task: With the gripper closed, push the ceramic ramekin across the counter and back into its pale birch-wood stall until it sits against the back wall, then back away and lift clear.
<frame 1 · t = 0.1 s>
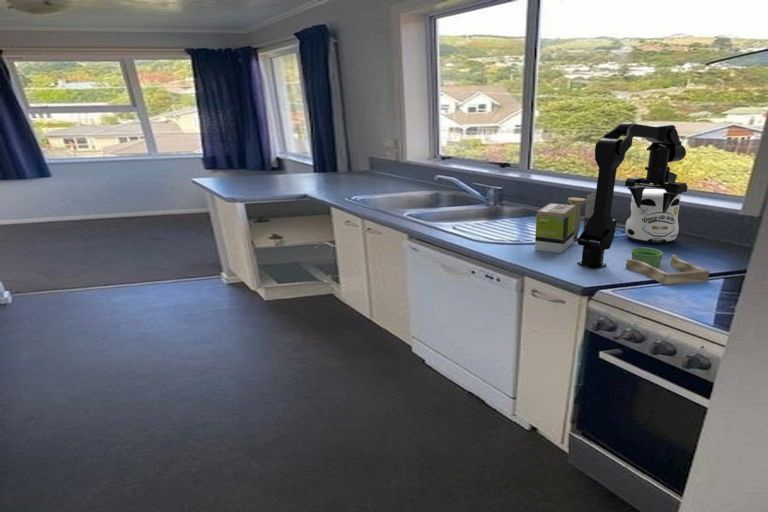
hand: (651, 209, 162), 14 cm above the countertop, fingers open, 9 cm apart
ramekin: (645, 264, 154), on the countertop
milk container: (649, 240, 179), on the countertop
stall: (669, 275, 143), on the countertop
tea box: (554, 247, 175), on the countertop
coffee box: (594, 234, 189), on the countertop
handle: (573, 237, 186), on the countertop
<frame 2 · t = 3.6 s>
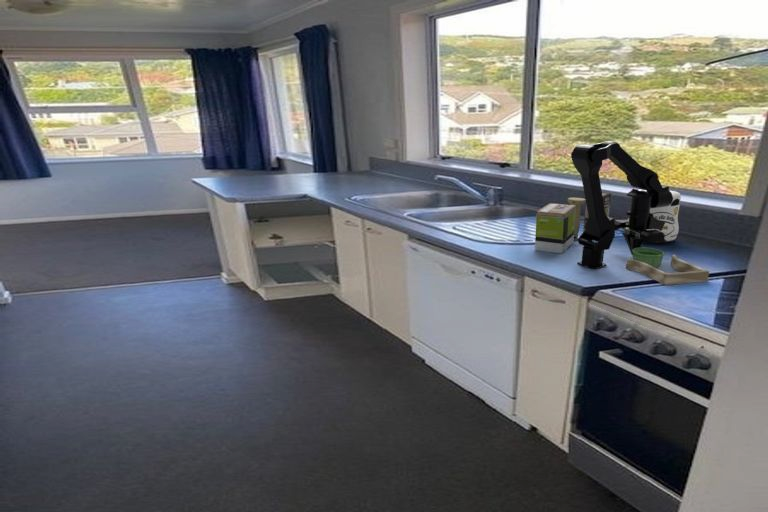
hand: (633, 255, 159), 1 cm above the countertop, fingers closed
ramekin: (646, 264, 153), on the countertop, touching gripper
everything else where it was.
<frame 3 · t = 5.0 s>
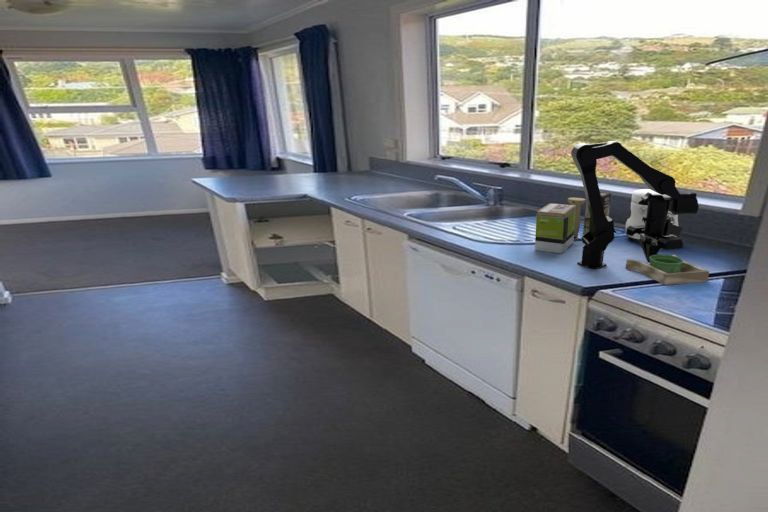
hand: (649, 262, 152), 1 cm above the countertop, fingers closed
ramekin: (663, 272, 146), on the countertop, touching gripper
everything else where it was.
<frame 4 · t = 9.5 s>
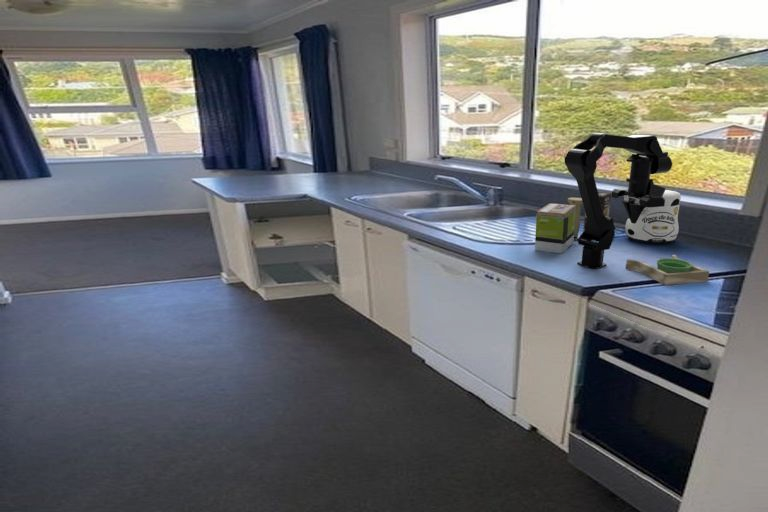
hand: (633, 223, 156), 12 cm above the countertop, fingers closed
ramekin: (671, 277, 143), on the countertop
everything else where it was.
at the end: ramekin 0.8 cm from the stall (horizontally); ramekin tilted 0° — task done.
